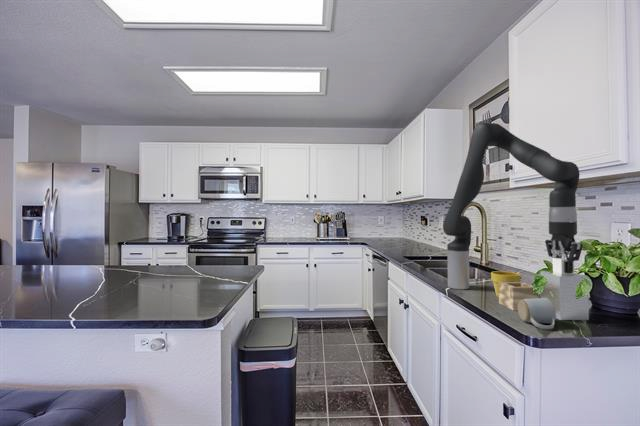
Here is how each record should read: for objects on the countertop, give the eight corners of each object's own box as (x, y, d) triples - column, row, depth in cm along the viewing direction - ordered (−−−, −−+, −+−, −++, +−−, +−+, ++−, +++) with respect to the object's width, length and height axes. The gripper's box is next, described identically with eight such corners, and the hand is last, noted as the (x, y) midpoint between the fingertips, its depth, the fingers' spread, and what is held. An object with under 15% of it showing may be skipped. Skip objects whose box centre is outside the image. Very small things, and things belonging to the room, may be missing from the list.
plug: (552, 284, 107) (552, 258, 107) (567, 284, 107) (566, 257, 107) (561, 287, 103) (561, 259, 103) (576, 286, 103) (576, 259, 103)
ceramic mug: (515, 317, 103) (515, 294, 103) (542, 318, 102) (542, 295, 102) (533, 330, 93) (533, 304, 92) (563, 331, 91) (563, 305, 91)
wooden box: (499, 303, 119) (498, 282, 119) (522, 302, 119) (522, 282, 119) (513, 310, 110) (513, 287, 110) (538, 310, 110) (538, 287, 110)
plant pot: (512, 293, 132) (512, 270, 132) (526, 300, 122) (525, 275, 122) (487, 293, 133) (486, 270, 133) (498, 300, 123) (498, 275, 123)
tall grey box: (540, 311, 109) (540, 271, 109) (566, 310, 109) (566, 270, 109) (560, 320, 100) (559, 276, 100) (588, 319, 100) (588, 276, 100)
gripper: (536, 220, 112) (537, 268, 112) (567, 221, 98) (568, 276, 98) (557, 220, 112) (558, 267, 112) (591, 221, 98) (592, 275, 98)
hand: (563, 271), depth 105 cm, fingers closed on plug, 4 cm apart
